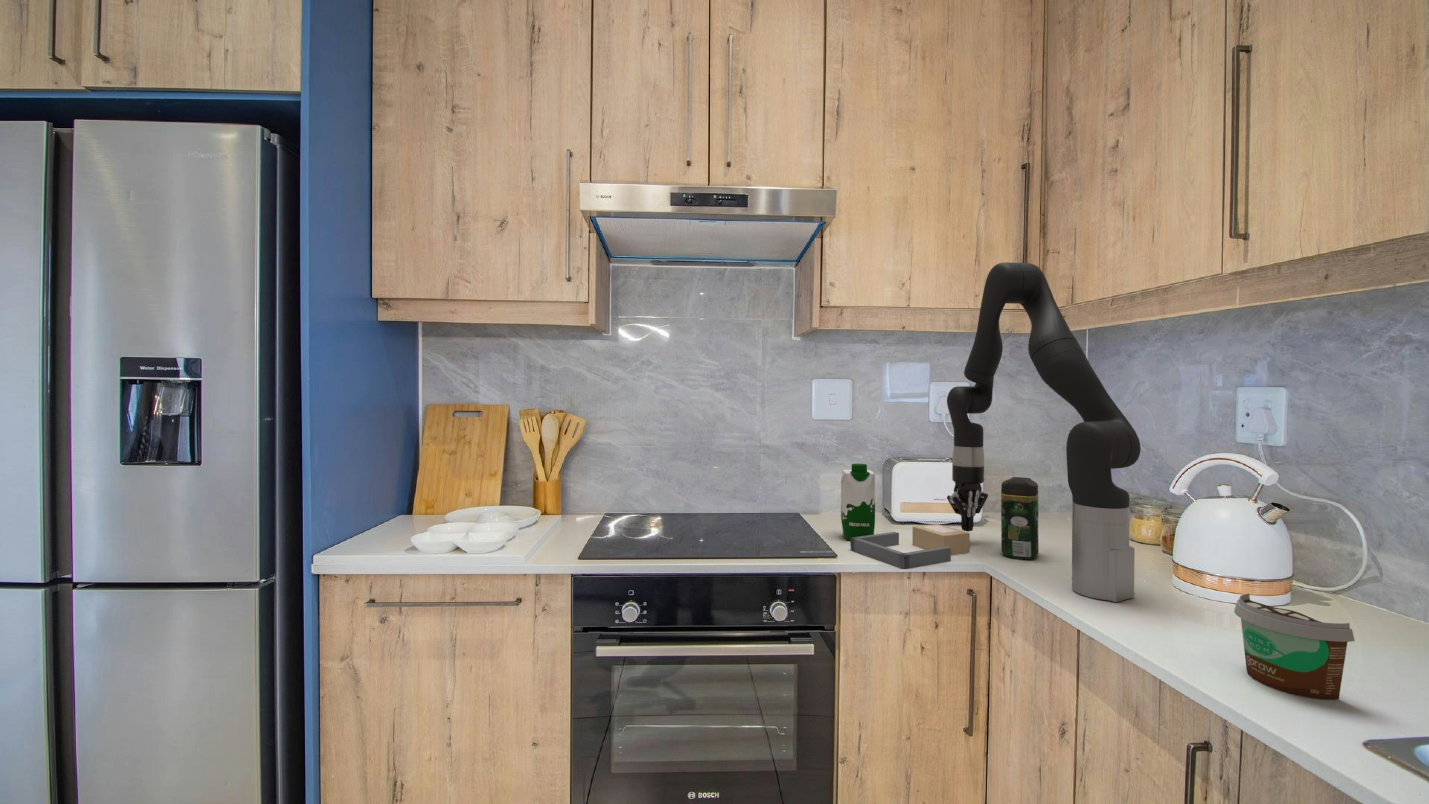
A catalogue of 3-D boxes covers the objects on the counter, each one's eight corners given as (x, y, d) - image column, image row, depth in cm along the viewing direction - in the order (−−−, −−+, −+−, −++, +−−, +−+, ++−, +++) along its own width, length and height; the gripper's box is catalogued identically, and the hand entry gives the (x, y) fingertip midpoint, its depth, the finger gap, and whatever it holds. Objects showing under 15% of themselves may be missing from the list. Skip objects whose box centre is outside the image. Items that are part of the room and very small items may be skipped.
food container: (1210, 665, 83) (1211, 595, 83) (1243, 661, 85) (1244, 592, 85) (1317, 711, 71) (1318, 629, 71) (1354, 705, 73) (1354, 624, 73)
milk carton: (843, 541, 154) (843, 465, 154) (839, 533, 163) (839, 461, 163) (877, 542, 153) (877, 465, 153) (871, 534, 162) (871, 461, 162)
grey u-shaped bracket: (950, 560, 136) (950, 547, 136) (904, 568, 130) (904, 555, 130) (894, 543, 152) (894, 531, 152) (850, 549, 146) (850, 537, 146)
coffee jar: (1003, 548, 147) (1003, 474, 147) (1039, 552, 143) (1039, 476, 143) (998, 557, 139) (998, 478, 139) (1036, 562, 135) (1037, 481, 135)
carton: (969, 553, 144) (969, 532, 144) (943, 556, 141) (943, 535, 141) (937, 543, 154) (937, 523, 154) (912, 545, 151) (912, 525, 151)
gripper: (962, 466, 145) (961, 536, 146) (998, 464, 151) (997, 531, 152) (938, 463, 152) (937, 530, 152) (973, 460, 158) (972, 525, 158)
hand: (967, 530), depth 152 cm, fingers closed
